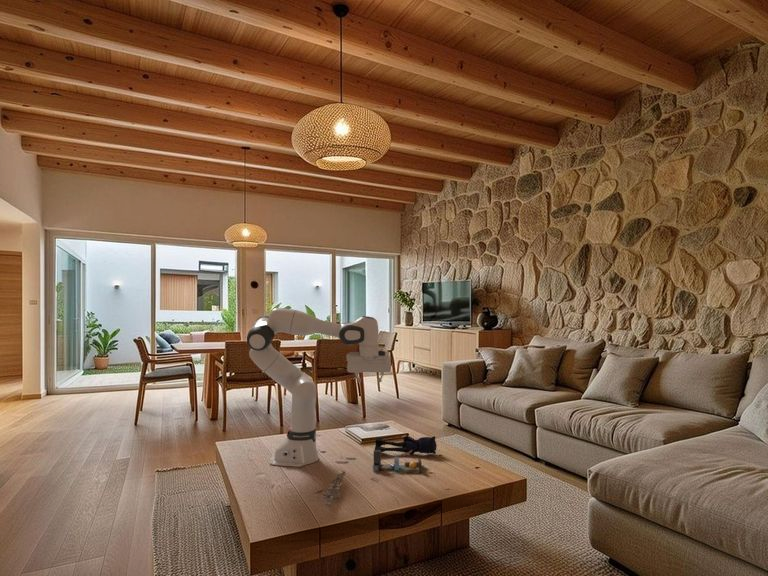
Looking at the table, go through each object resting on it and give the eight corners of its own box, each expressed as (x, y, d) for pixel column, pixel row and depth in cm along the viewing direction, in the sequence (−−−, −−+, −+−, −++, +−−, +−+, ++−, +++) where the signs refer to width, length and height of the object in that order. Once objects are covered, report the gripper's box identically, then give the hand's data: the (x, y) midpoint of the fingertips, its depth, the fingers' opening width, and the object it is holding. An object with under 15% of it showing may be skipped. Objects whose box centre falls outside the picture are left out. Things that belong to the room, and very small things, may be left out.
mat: (392, 474, 194) (392, 473, 194) (392, 465, 204) (392, 465, 204) (425, 474, 194) (425, 473, 194) (423, 465, 204) (423, 465, 204)
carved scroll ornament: (318, 516, 158) (317, 504, 158) (337, 480, 188) (336, 470, 188) (331, 516, 158) (331, 504, 158) (348, 480, 188) (347, 470, 188)
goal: (405, 473, 194) (405, 461, 195) (404, 465, 203) (404, 454, 204) (421, 473, 194) (421, 461, 194) (420, 465, 203) (420, 454, 203)
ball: (418, 465, 197) (414, 472, 197) (418, 463, 201) (414, 469, 201) (412, 461, 197) (407, 467, 197) (412, 458, 201) (407, 464, 201)
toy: (375, 458, 221) (437, 457, 218) (372, 455, 213) (437, 454, 210) (375, 437, 226) (436, 436, 223) (373, 433, 218) (436, 432, 215)
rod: (372, 471, 197) (372, 452, 197) (373, 467, 202) (372, 449, 202) (399, 471, 197) (398, 452, 197) (399, 467, 202) (398, 448, 202)
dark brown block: (373, 472, 196) (373, 465, 196) (374, 467, 202) (374, 460, 203) (378, 472, 196) (378, 465, 196) (379, 467, 202) (379, 460, 202)
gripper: (345, 352, 205) (346, 383, 204) (391, 352, 204) (391, 383, 204) (347, 351, 211) (347, 381, 211) (391, 350, 210) (391, 380, 210)
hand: (369, 382), depth 207 cm, fingers open, 8 cm apart
